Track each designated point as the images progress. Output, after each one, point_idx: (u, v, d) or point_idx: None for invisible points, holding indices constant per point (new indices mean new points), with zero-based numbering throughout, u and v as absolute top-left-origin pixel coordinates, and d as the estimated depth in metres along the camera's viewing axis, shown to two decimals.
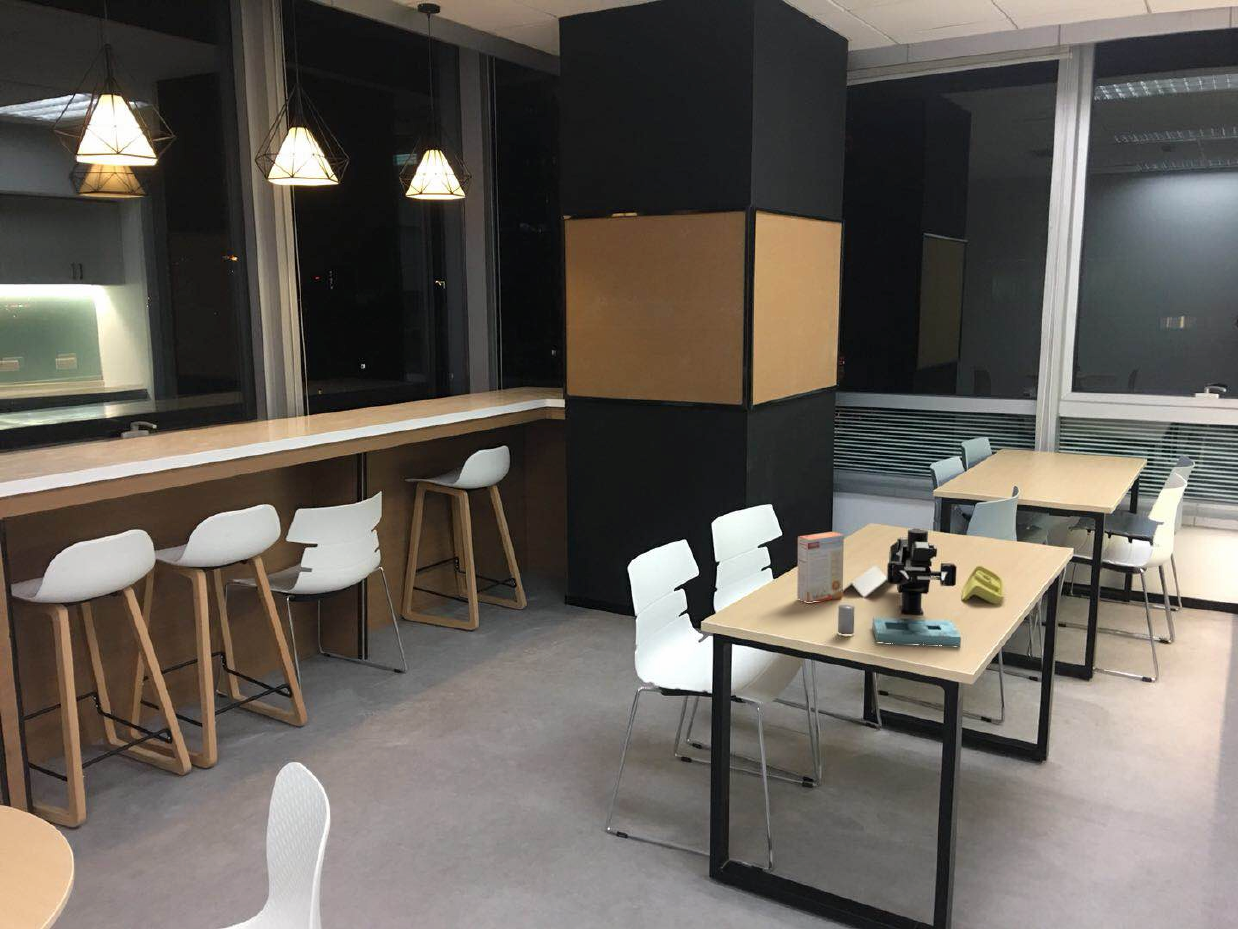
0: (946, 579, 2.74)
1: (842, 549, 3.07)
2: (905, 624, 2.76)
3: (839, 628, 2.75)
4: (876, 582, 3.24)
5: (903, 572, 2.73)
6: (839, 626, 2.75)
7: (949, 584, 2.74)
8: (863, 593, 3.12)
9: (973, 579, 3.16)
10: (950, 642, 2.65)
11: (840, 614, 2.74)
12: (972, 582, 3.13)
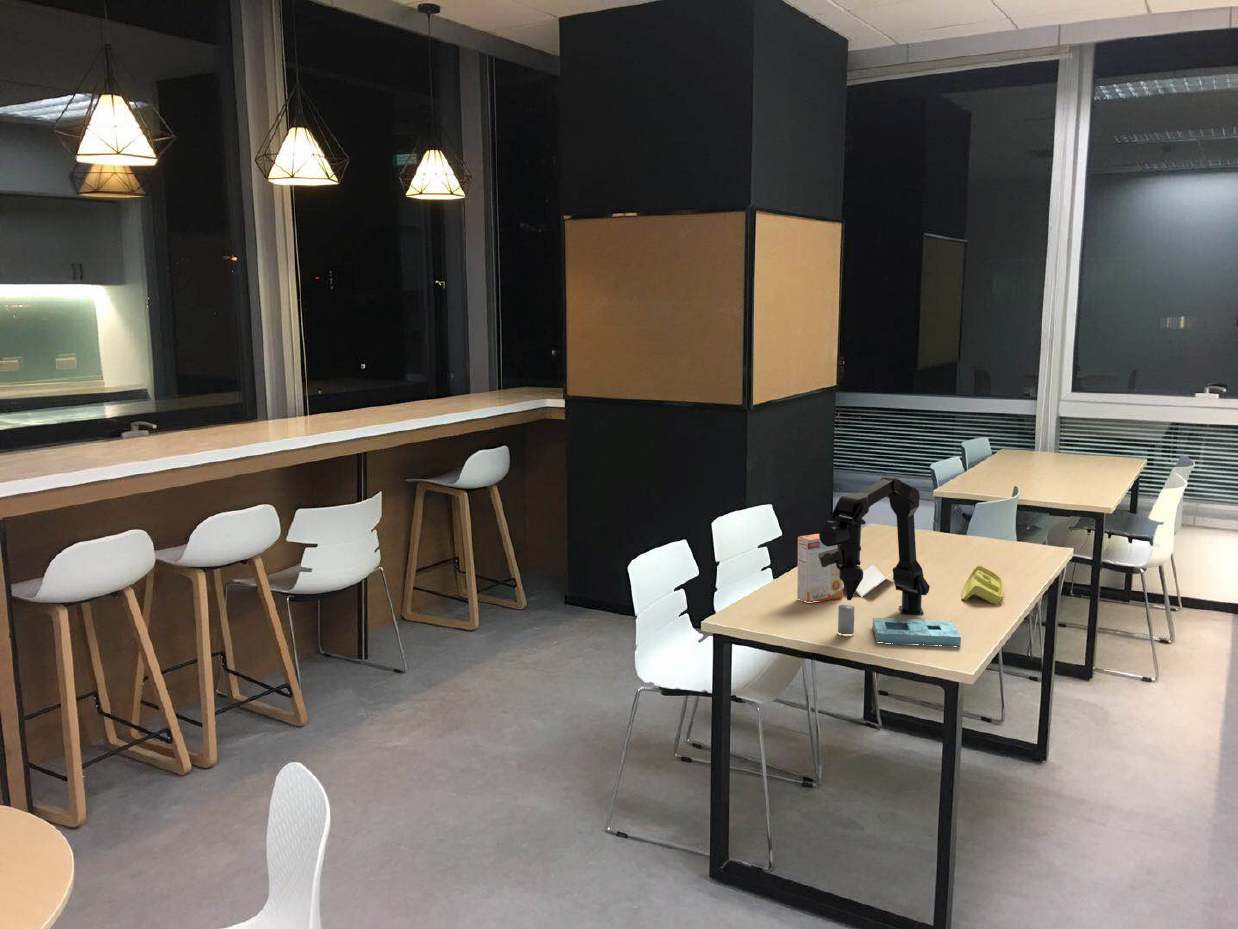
0: None
1: None
2: (905, 624, 2.76)
3: (839, 628, 2.75)
4: (874, 581, 3.24)
5: None
6: (839, 626, 2.75)
7: None
8: (861, 593, 3.12)
9: (973, 579, 3.16)
10: (950, 642, 2.65)
11: (840, 614, 2.74)
12: (972, 582, 3.14)
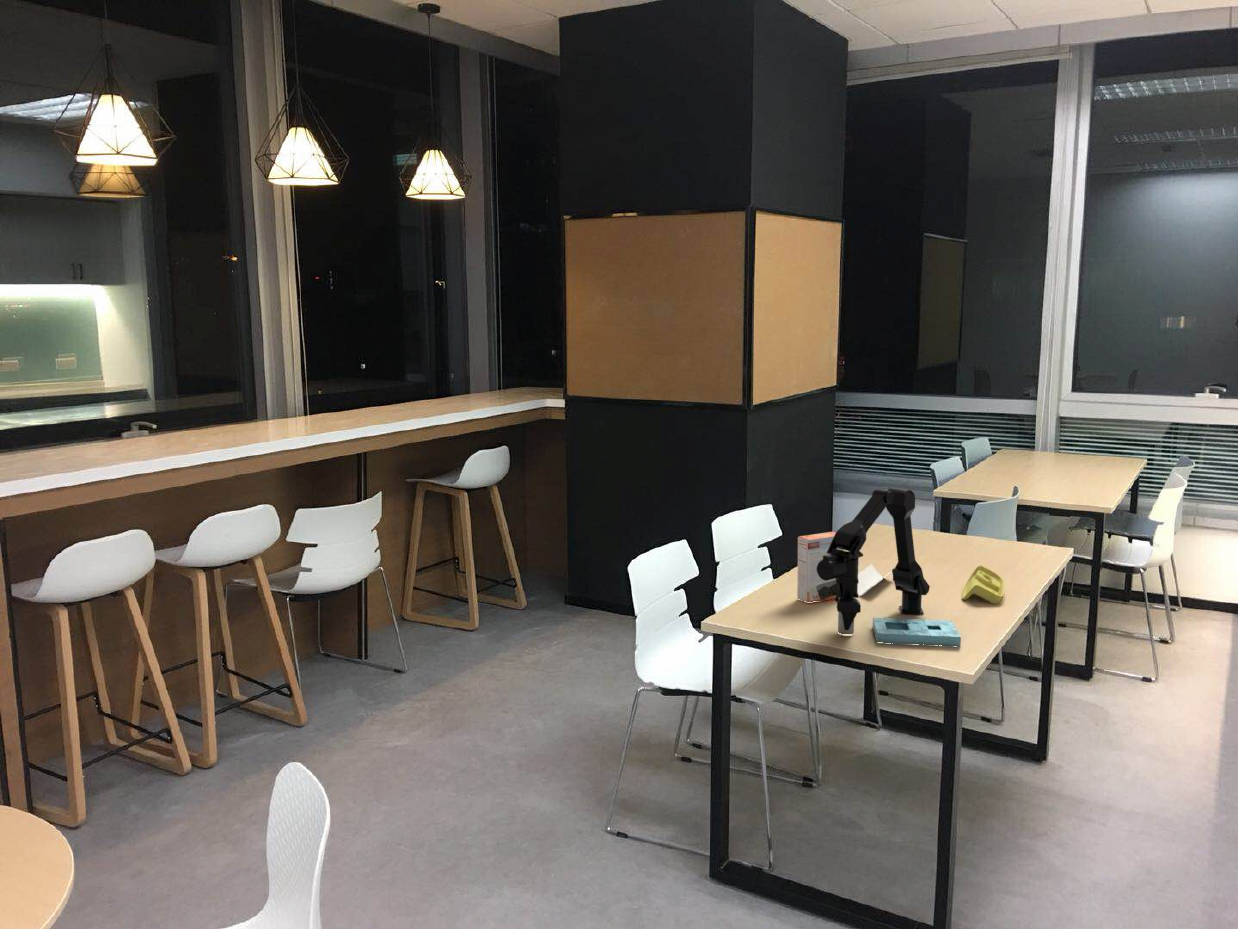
0: None
1: (842, 549, 3.07)
2: (905, 624, 2.76)
3: (839, 628, 2.75)
4: (872, 581, 3.25)
5: None
6: (839, 626, 2.75)
7: None
8: (859, 592, 3.13)
9: (974, 579, 3.16)
10: (950, 642, 2.65)
11: (840, 614, 2.74)
12: (972, 582, 3.14)
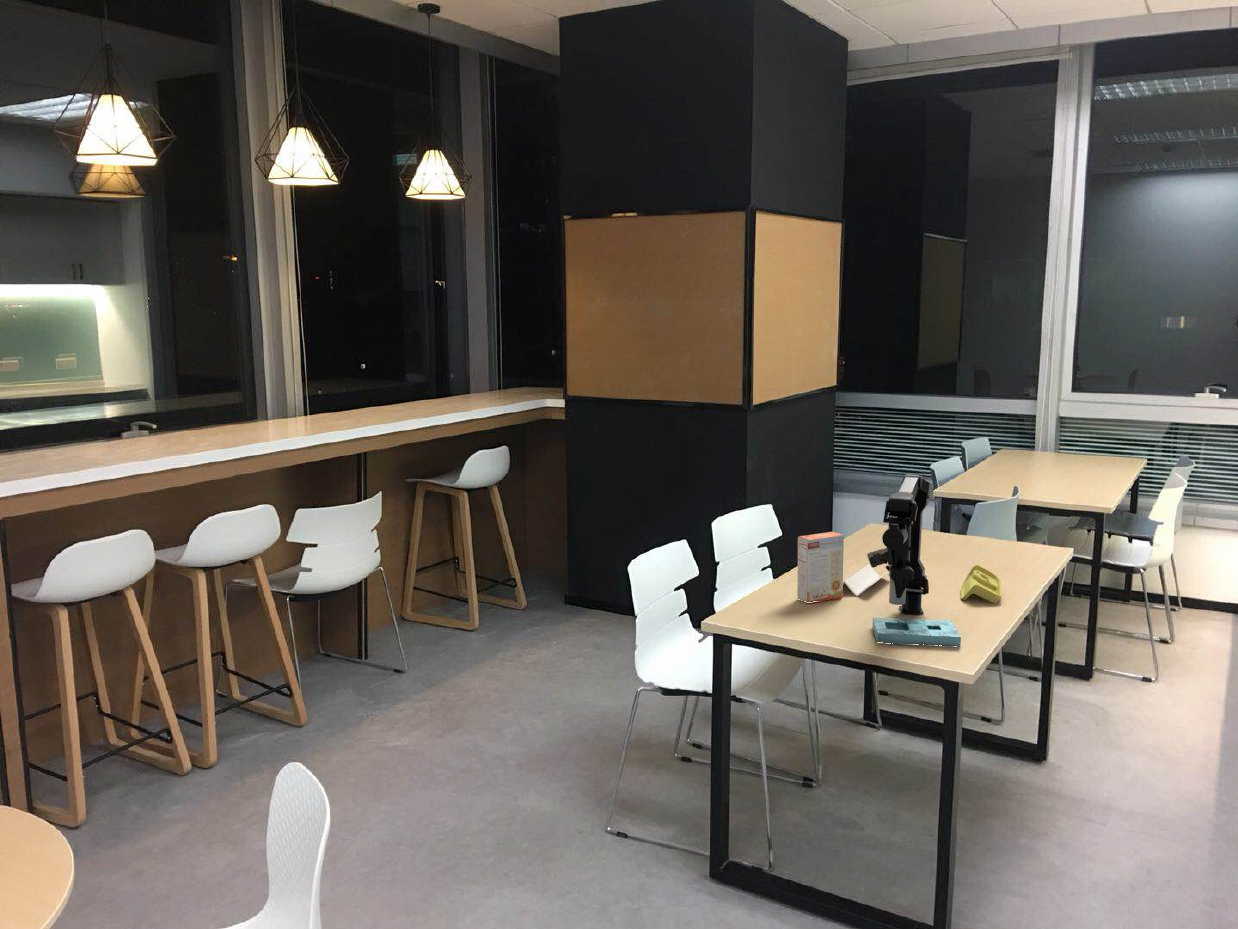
0: None
1: (842, 549, 3.07)
2: (905, 624, 2.76)
3: (890, 596, 2.71)
4: (869, 581, 3.25)
5: None
6: (890, 594, 2.71)
7: None
8: (856, 592, 3.13)
9: (971, 578, 3.16)
10: (950, 642, 2.65)
11: (892, 582, 2.70)
12: (970, 581, 3.14)
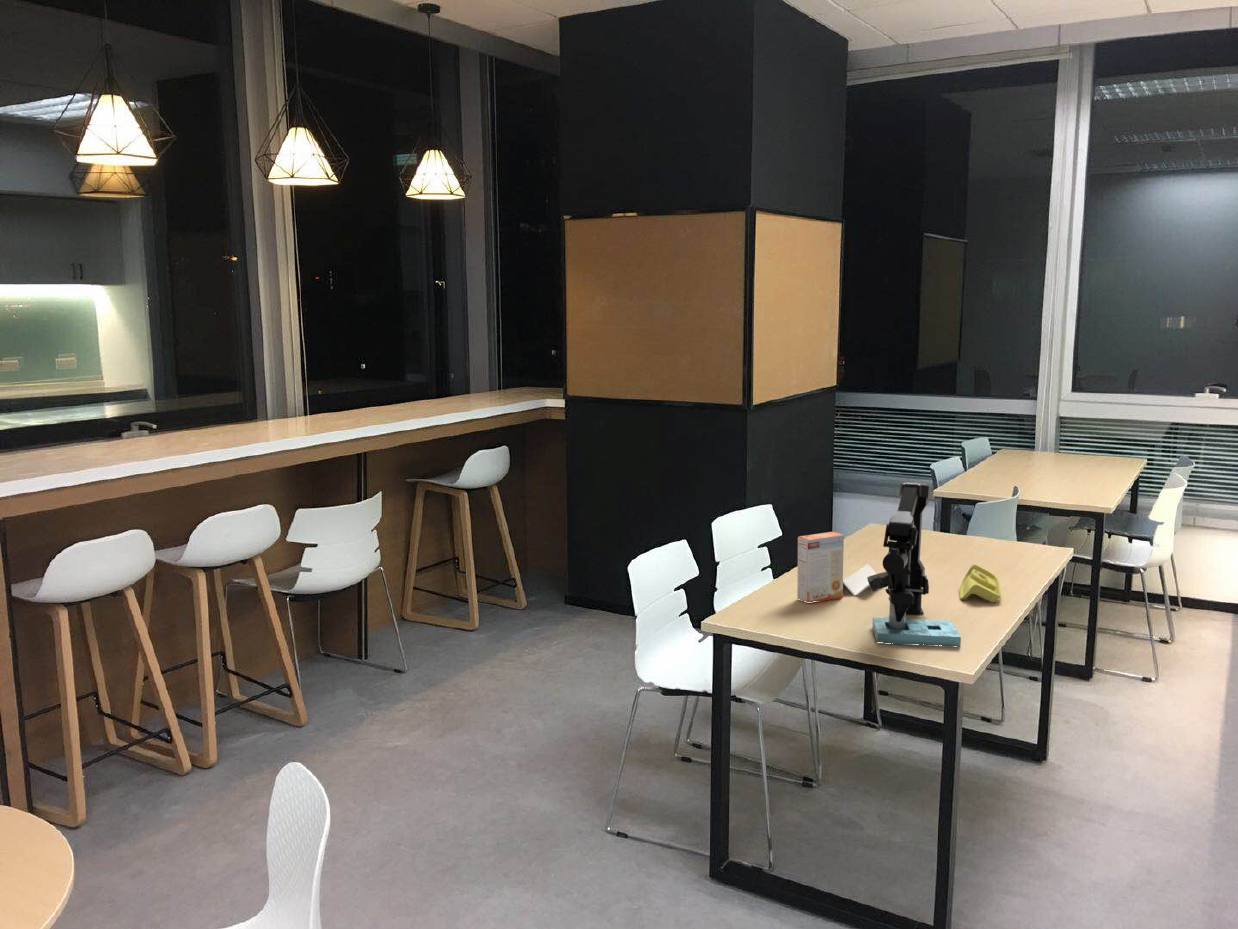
0: None
1: (842, 549, 3.07)
2: (905, 624, 2.76)
3: (890, 620, 2.72)
4: None
5: None
6: (890, 618, 2.72)
7: None
8: (854, 592, 3.13)
9: (969, 578, 3.17)
10: (950, 642, 2.65)
11: (892, 606, 2.71)
12: (969, 581, 3.14)
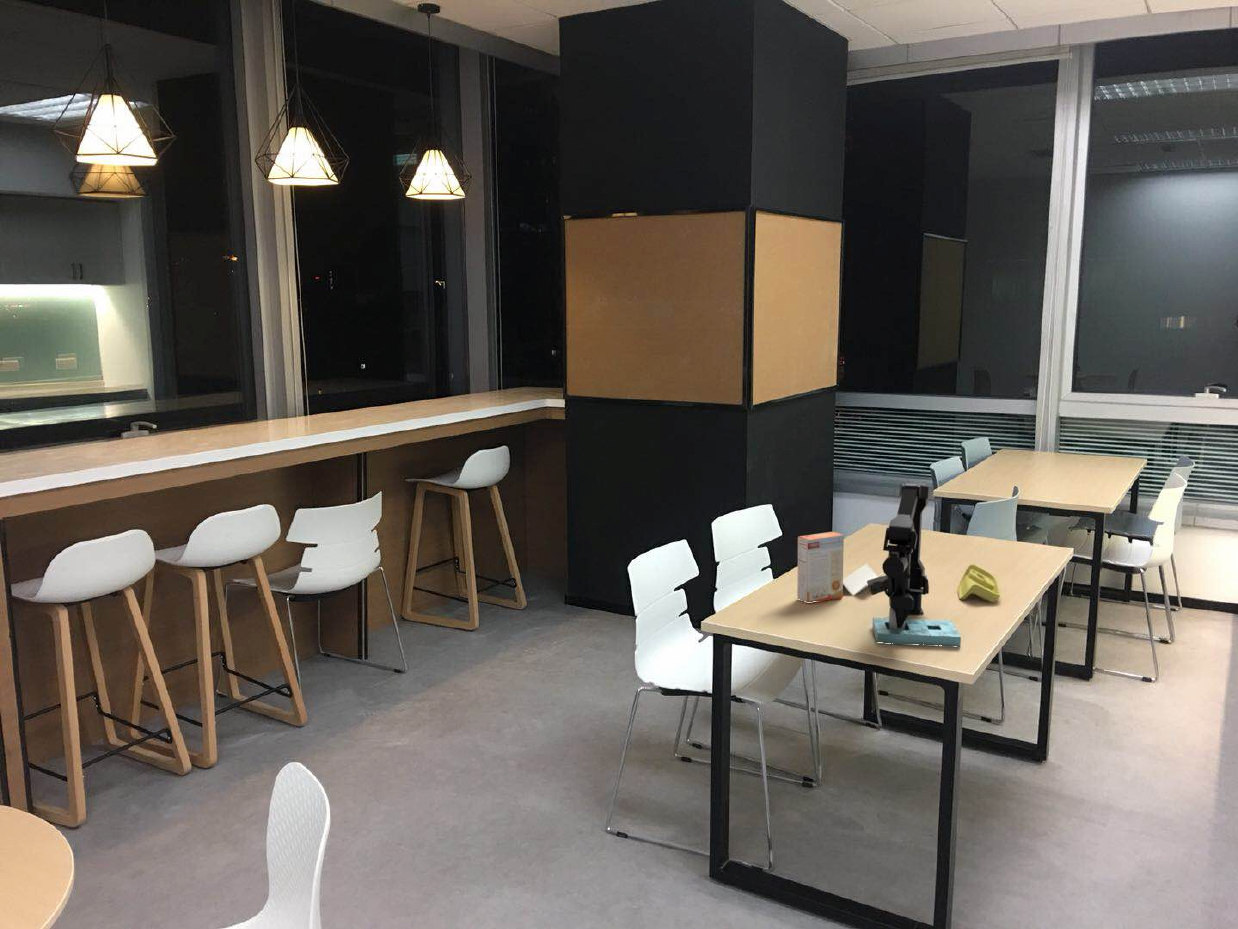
0: None
1: (842, 549, 3.07)
2: (905, 624, 2.76)
3: None
4: (867, 580, 3.26)
5: None
6: (890, 628, 2.73)
7: None
8: (852, 591, 3.14)
9: (967, 578, 3.17)
10: (950, 642, 2.65)
11: (891, 616, 2.72)
12: (967, 581, 3.15)
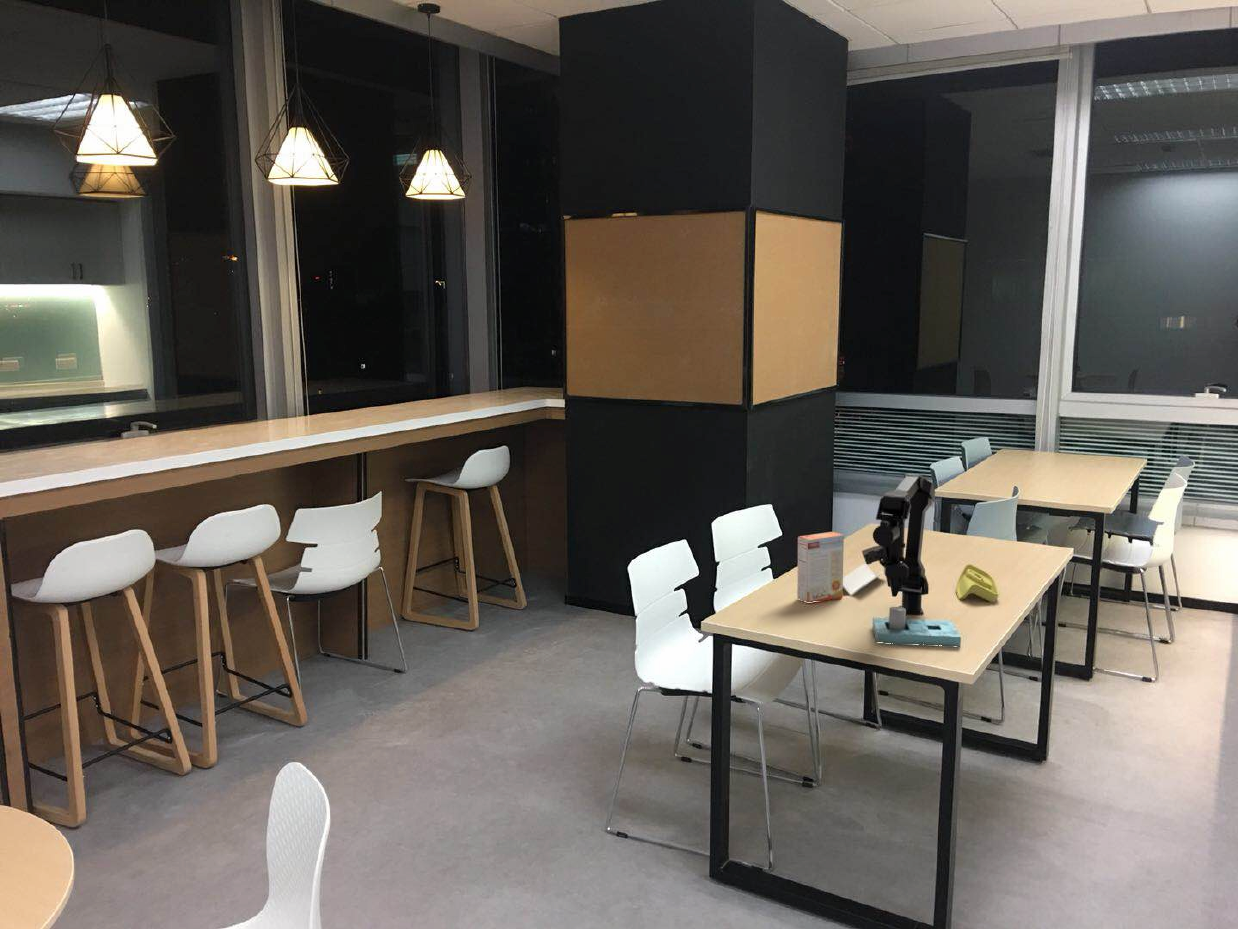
0: None
1: (842, 549, 3.07)
2: (905, 624, 2.76)
3: None
4: (865, 580, 3.26)
5: None
6: (890, 628, 2.73)
7: None
8: (850, 591, 3.14)
9: (965, 578, 3.17)
10: (950, 642, 2.65)
11: (891, 616, 2.72)
12: (965, 581, 3.15)
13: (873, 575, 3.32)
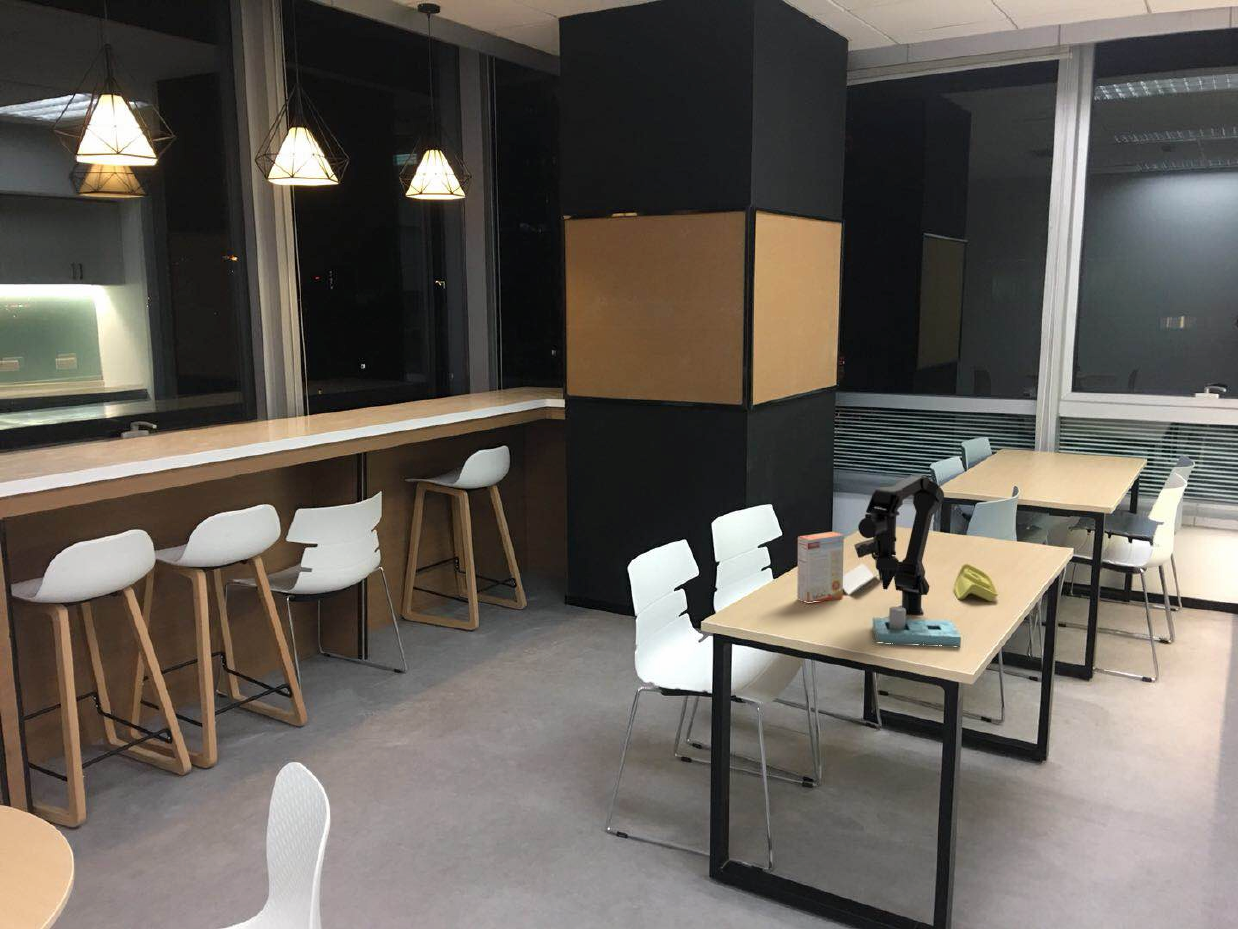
0: None
1: (842, 549, 3.07)
2: (905, 624, 2.76)
3: None
4: (863, 580, 3.26)
5: None
6: (890, 628, 2.73)
7: None
8: (848, 591, 3.14)
9: (963, 577, 3.18)
10: (950, 642, 2.65)
11: (891, 616, 2.72)
12: (963, 580, 3.15)
13: (871, 575, 3.33)
